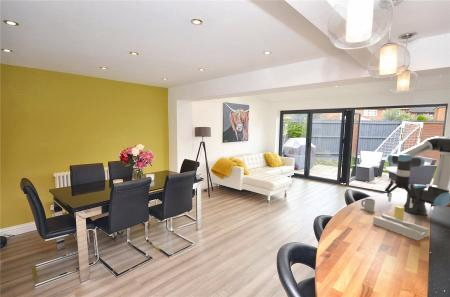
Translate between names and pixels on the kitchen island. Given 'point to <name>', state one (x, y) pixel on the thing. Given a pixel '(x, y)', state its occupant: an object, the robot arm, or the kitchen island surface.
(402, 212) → the yellow juice carton
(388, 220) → the rail
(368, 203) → the cup
